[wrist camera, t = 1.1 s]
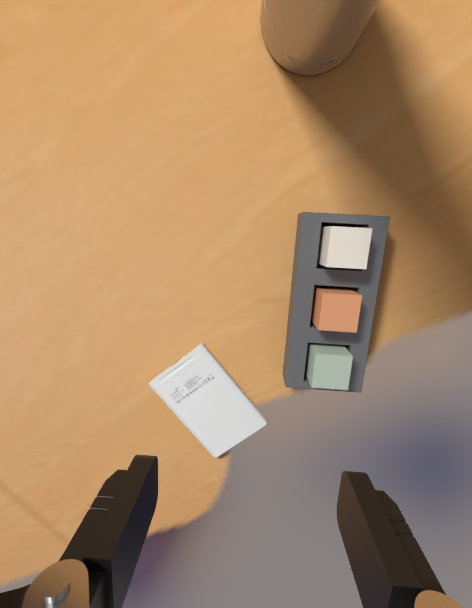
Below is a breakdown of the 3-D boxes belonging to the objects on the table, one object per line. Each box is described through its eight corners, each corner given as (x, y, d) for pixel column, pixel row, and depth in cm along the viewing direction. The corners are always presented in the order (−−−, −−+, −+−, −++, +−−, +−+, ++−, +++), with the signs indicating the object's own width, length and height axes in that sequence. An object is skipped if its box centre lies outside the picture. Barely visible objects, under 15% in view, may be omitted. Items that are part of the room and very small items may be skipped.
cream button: (321, 226, 30) (330, 226, 26) (358, 228, 30) (372, 228, 26) (317, 263, 31) (326, 266, 27) (353, 265, 31) (366, 269, 27)
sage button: (308, 341, 33) (315, 353, 29) (342, 343, 32) (353, 356, 29) (305, 372, 33) (311, 387, 30) (338, 374, 33) (347, 390, 30)
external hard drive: (215, 450, 39) (151, 379, 37) (267, 416, 37) (203, 340, 35) (214, 459, 37) (147, 385, 35) (268, 424, 36) (201, 345, 34)
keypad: (298, 214, 31) (303, 212, 28) (376, 218, 31) (389, 216, 28) (282, 374, 35) (285, 387, 32) (351, 379, 35) (361, 392, 32)
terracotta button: (315, 286, 31) (323, 293, 28) (350, 288, 31) (362, 295, 28) (311, 320, 32) (318, 330, 29) (345, 322, 32) (356, 332, 29)
